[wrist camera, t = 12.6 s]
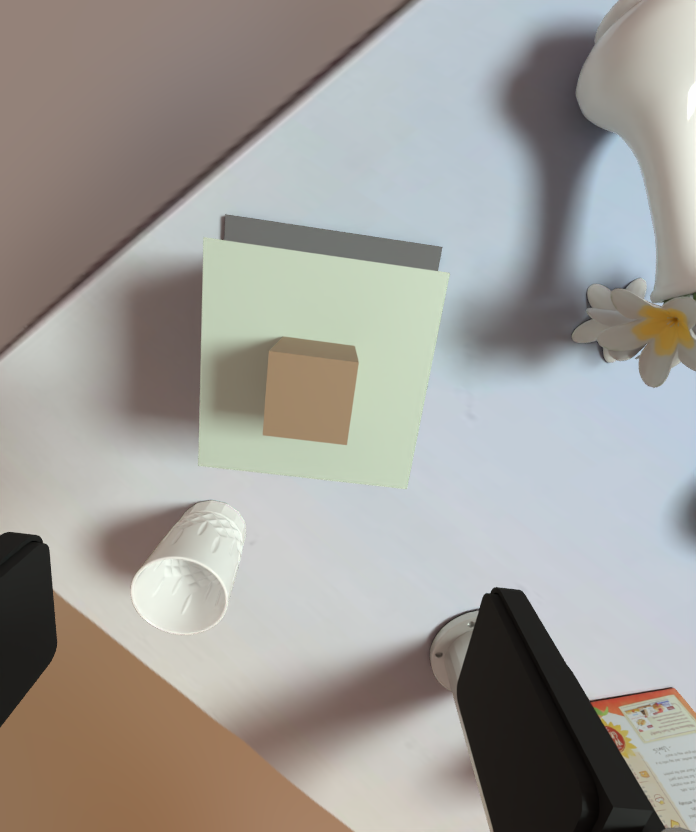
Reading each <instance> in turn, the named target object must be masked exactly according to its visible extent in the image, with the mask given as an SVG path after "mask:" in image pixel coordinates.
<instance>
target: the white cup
mask: <svg viewBox="0 0 696 832" xmlns="http://www.w3.org/2000/svg"><path fill="white" fill-rule="evenodd" d="M245 538H246V525H245V521H244V520H243V518H242V517H241V515H240V513H239V512H238V511H237V510H236V509H234V508H233V507H231V506H230V505H228V504H227V503H223V502H218V501H214V500H210V501H204V502H199V503H196V504H195V505H194V506H192V507H191V508H190V509H188V510H187V511H186V512H185V513H184V515H183V516H182V517H181V519H180V520H179V521H178V522H177V523H176V524H175V525H174V526H173V527H172V528H171V530H170V531H169V532H168V534H167V535H166V536H165V537H164V538H163V539H162V541H161V542H160V543H159V545H158V546H157V547H156V549H155V550H154V551H153V552H152V554H151V555H150V556H149V558H148V559H147V560H146V561H145V563H144V564H143V565H142V567H141V568H140V569H139V570H138V572H137V573H136V574H135V576H134V578H133V580H132V583H131V588H130V595H131V600H132V603H133V606H134V608H135V609H136V611H137V612H138V614H139V615H140V616H141V617H142V618H143V619H144V620H145V621H146V622H147V623H149V624H150V625H152V626H153V627H155V628H157V629H159V630H162V631H164V632H167V633H172V634H178V635H191V634H197V633H201V632H204V631H206V630H208V629H210V628H212V627H213V626H215V625H216V624H217V623H218V622H219V621H220V620H221V619H222V617H223V616H224V614H225V612H226V610H227V606H228V603H229V599H230V595H231V592H232V588H233V585H234V581H235V578H236V574H237V571H238V567H239V562H240V559H241V555H242V548H243V545H244V541H245Z"/></svg>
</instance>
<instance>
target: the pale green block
mask: <svg viewBox="0 0 696 832" xmlns="http://www.w3.org/2000/svg"><path fill="white" fill-rule="evenodd" d="M449 275H450V273H447V272H440V271H433V270H426V269H419V268H412V267H405V266H398V265H391V264H384V263H377V262H371V261H364V260H357V259H350V258H343V257H336V256H329V255H322V254H315V253H308V252H301V251H295V250H288V249H281V248H274V247H267V246H260V245H253V244H246V243H239V242H232V241H225V240H219V239H212V238H205V237H204V241H203V283H202V325H201V368H200V410H199V452H198V466H204V467H213V468H222V469H231V470H240V471H249V472H258V473H267V474H276V475H285V476H294V477H303V478H312V479H321V480H330V481H339V482H348V483H356V484H365V485H374V486H383V487H392V488H401V489H407V486H408V481H409V476H410V471H411V466H412V461H413V456H414V451H415V446H416V441H417V436H418V431H419V426H420V421H421V415H422V410H423V405H424V400H425V395H426V390H427V385H428V380H429V375H430V370H431V365H432V360H433V355H434V350H435V345H436V340H437V335H438V330H439V325H440V320H441V315H442V310H443V305H444V300H445V295H446V290H447V285H448V280H449Z"/></svg>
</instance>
